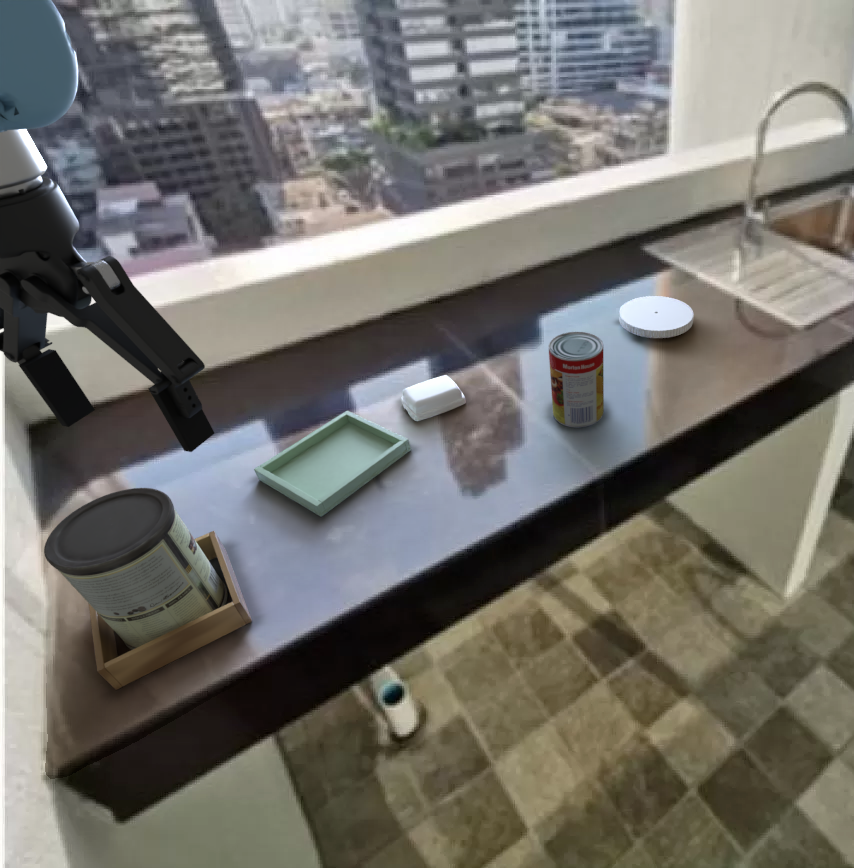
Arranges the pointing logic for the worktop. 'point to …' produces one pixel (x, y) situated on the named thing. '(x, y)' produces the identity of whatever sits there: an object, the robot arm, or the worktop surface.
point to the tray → (333, 462)
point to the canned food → (577, 378)
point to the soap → (432, 398)
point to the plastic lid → (656, 317)
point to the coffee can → (136, 564)
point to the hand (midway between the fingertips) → (138, 429)
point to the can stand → (177, 640)
